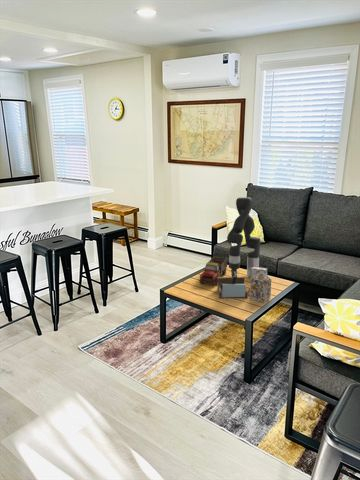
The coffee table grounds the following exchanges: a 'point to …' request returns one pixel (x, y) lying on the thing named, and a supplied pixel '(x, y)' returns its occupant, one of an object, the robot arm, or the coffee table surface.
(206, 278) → the toy truck
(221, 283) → the box
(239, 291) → the panel
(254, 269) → the candy bar box
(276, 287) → the coffee table surface
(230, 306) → the coffee table surface
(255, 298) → the decorative jar
